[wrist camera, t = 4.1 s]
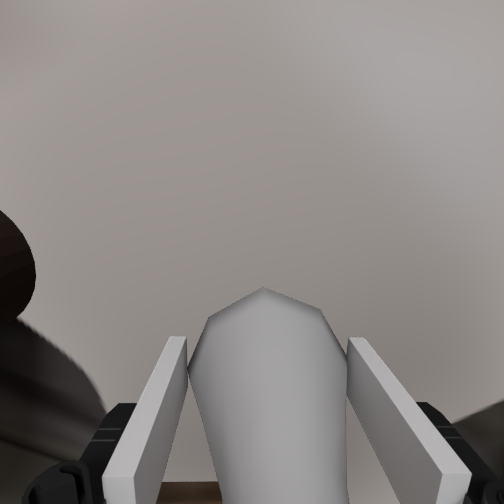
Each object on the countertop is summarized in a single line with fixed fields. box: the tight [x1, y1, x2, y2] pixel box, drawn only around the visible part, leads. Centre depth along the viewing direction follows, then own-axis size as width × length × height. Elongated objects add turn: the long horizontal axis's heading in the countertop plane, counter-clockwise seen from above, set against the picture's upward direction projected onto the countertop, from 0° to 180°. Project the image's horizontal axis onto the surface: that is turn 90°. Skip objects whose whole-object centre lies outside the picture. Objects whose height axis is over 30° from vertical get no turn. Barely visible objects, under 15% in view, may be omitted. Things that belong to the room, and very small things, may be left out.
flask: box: [187, 287, 349, 504], centre depth 9 cm, size 7×7×10 cm
